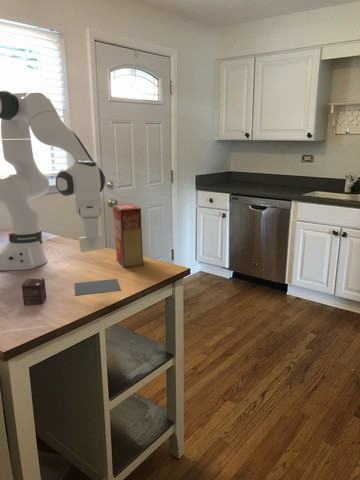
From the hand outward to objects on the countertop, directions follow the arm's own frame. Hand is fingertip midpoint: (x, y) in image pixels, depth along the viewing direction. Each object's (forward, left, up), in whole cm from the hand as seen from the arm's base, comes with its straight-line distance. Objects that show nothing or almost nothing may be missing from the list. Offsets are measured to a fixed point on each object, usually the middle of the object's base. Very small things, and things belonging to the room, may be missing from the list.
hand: (91, 245), depth 138 cm
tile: (0, 0, -2) cm, 2 cm away
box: (-20, -7, -16) cm, 27 cm away
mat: (+1, 0, -16) cm, 16 cm away
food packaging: (+17, +26, -16) cm, 35 cm away
